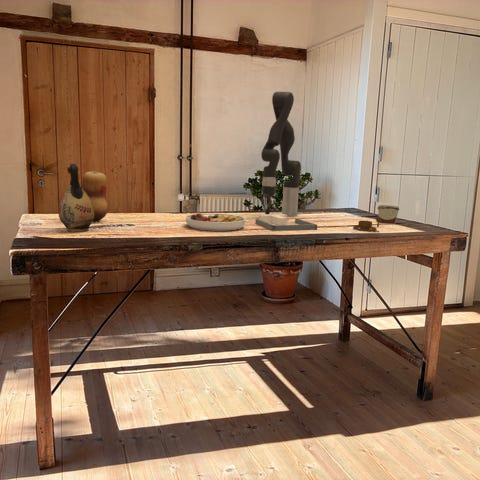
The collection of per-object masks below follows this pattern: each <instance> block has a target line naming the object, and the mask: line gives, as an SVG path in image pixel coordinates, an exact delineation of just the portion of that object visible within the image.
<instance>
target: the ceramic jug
mask: <svg viewBox="0 0 480 480" xmlns="http://www.w3.org/2000/svg"><path fill="white" fill-rule="evenodd" d="M67 173H68V174H69V175H70V184H69V185H68V186H67V189H66V190H65V191H64V194H63V195H62V197H61V199H60V201H59V205H58V211H57V212H58V213H57V215H58V217H59V221H60V223H62V224H63V225H64V227H65V228H66V229H67V231H68V232H75V233H76V232H77V233H78V232H84V231H90V226H91V225H92V224H93V222H94V221H93V220H94V216H95V212H94V207H93V204H92V201H91V200H90V198H89V196H88V195H87V193H86V192H85V191H84V189H83V188H82V185H80V182H79V167H78V166H77V164H76V163H71V164H69V166H68V167H67Z"/></svg>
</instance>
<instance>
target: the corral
mask: <svg viewBox="0 0 480 480" xmlns="http://www.w3.org/2000/svg"><path fill="white" fill-rule="evenodd" d="M255 225H258V226H259V227H263V228H265V229H267V230H270V231H272V232H273V231H275V232H276V231H278V232H279V231H311V230H312V231H314V230H315V231H316V230H318V224H316V223H314V222H311V221H307V220H303V219H301V218H294V224H286V225H276V224H273V223H267V222H265V221H262V220H259V218H256V219H255Z"/></svg>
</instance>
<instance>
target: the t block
mask: <svg viewBox="0 0 480 480" xmlns="http://www.w3.org/2000/svg"><path fill="white" fill-rule="evenodd" d="M258 219H259V220H262V221H265V222H267V223H270V224H272V225H287V223H288V216H287V215H285V214H282V213H280V214H279V213H278V214H276V213H274V214H273V213H272V214H271V213H270V214H265V213H264V214H262V213H261V214H259V215H258Z"/></svg>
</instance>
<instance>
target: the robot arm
mask: <svg viewBox="0 0 480 480" xmlns="http://www.w3.org/2000/svg"><path fill="white" fill-rule="evenodd" d="M294 98H295V97H294V94H293V93H292V92H291V91H275V92H274V93H273V94H272V99H271V102H272V103H271V104H272V107H273V114H274V117H275V122H273V124H272V126H271V127H270V130H269V133H268V139H267V141H266V143H265V144H264V146H263V149H262V150H261V159H262V161H264V162H267V163H268V162H269V163H268V165H265V166H264V167H263V171H262V172H263V173H262V175H263V177H262V183H261V185H262V186H261V187H262V188H261V193H262V194H263V197H262V198H261V201H262V205H263V208H264V209H265V211H264V214H271V210H272V209H273V207H274V205H275V203H276V202H275V200H274V195H275V194H276V188H277V187H276V184H277V179H276V178H277V168H278V166H279V162H280V163H281V164H280V165H281V172H282V174H283V176H289V177H292V178H291V179H290V180H287V181H284V183H283V190H282V193H283V194H282V195H283V196H282V206H281V207H282V208H281V214H285V215H287V217H297V216H298V205H299V191H300V189H299V188H300V187H299V186H300V182H301V181H300V179H301V171H302V165H301V161H299V160H289V154H290V151H291V149H292V147H293V146H294V144H295V130H294V127H293V125H292V124H291V122H290V121H289V120H288V118H289V117H290V113H291V111H292V108H293V106H294V105H293V104H294V101H295V99H294ZM278 146H279V148H280V149H279V150H280V152H279V150H278V149H275V147H278Z"/></svg>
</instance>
